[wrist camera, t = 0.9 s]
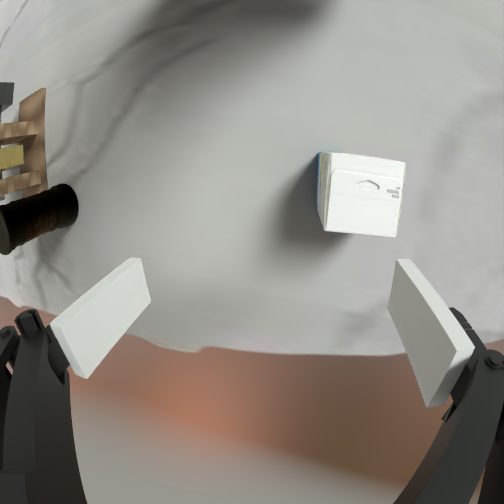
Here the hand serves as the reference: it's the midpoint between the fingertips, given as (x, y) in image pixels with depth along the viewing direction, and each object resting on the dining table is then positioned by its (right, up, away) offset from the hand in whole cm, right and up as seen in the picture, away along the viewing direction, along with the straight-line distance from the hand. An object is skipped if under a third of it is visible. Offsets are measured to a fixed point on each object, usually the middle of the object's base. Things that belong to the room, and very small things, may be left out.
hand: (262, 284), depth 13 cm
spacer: (-50, +21, +24) cm, 59 cm away
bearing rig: (-49, +25, +28) cm, 62 cm away
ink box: (+13, +11, +23) cm, 29 cm away
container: (-38, +11, +32) cm, 51 cm away
